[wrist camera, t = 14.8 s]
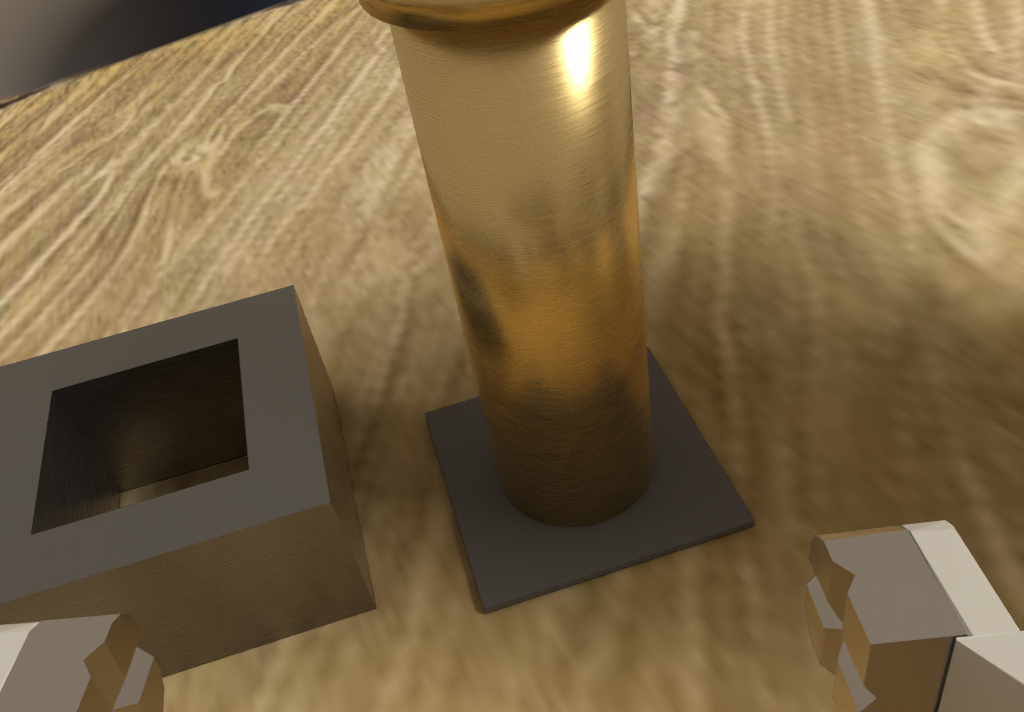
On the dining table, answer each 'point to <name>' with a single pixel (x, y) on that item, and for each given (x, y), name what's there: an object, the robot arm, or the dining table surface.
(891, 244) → the dining table surface
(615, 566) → the pad
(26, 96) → the dining table surface
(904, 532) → the robot arm
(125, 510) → the housing
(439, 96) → the brass capped peg
